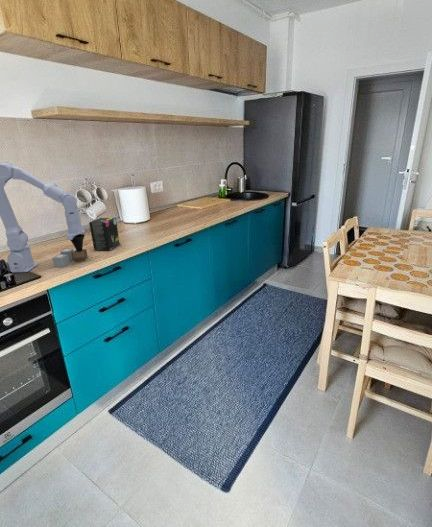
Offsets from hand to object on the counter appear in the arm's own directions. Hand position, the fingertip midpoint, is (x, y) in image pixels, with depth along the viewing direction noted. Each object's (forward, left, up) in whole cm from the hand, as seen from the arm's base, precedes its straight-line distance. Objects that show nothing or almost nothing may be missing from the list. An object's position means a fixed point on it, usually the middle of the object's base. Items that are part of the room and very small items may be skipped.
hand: (79, 250), depth 142 cm
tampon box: (+18, -6, -5) cm, 20 cm away
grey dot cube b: (-7, +6, -5) cm, 10 cm away
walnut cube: (0, 0, -5) cm, 5 cm away
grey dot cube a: (+1, +7, -5) cm, 8 cm away
